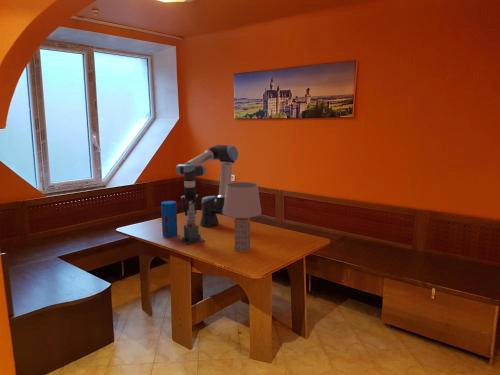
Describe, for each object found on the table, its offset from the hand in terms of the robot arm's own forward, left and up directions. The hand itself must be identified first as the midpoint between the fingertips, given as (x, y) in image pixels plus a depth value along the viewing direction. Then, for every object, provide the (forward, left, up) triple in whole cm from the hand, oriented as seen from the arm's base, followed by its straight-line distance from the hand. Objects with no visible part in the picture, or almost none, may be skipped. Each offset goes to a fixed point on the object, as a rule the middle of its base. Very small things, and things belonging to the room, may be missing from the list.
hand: (190, 219), depth 274 cm
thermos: (+8, -20, -16) cm, 27 cm away
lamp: (-20, +36, -16) cm, 44 cm away
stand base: (0, 0, -16) cm, 16 cm away
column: (0, 0, -11) cm, 11 cm away
